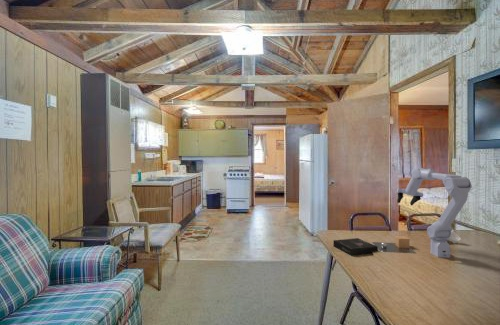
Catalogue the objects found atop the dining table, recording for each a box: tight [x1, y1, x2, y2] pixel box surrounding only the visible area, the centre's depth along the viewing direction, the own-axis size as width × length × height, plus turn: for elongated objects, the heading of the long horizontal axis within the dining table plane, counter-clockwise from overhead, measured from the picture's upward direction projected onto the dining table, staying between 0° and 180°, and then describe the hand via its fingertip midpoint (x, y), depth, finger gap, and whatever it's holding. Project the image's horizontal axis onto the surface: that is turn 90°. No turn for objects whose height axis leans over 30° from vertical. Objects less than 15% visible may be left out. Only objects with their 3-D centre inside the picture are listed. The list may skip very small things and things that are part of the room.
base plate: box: [371, 241, 417, 254], centre depth 162 cm, size 18×18×4 cm
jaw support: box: [447, 229, 462, 244], centre depth 177 cm, size 12×9×10 cm
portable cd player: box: [333, 237, 379, 257], centre depth 162 cm, size 16×17×4 cm
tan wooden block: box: [394, 235, 411, 248], centre depth 165 cm, size 6×6×5 cm
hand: (404, 203), depth 178 cm, fingers open, 7 cm apart
